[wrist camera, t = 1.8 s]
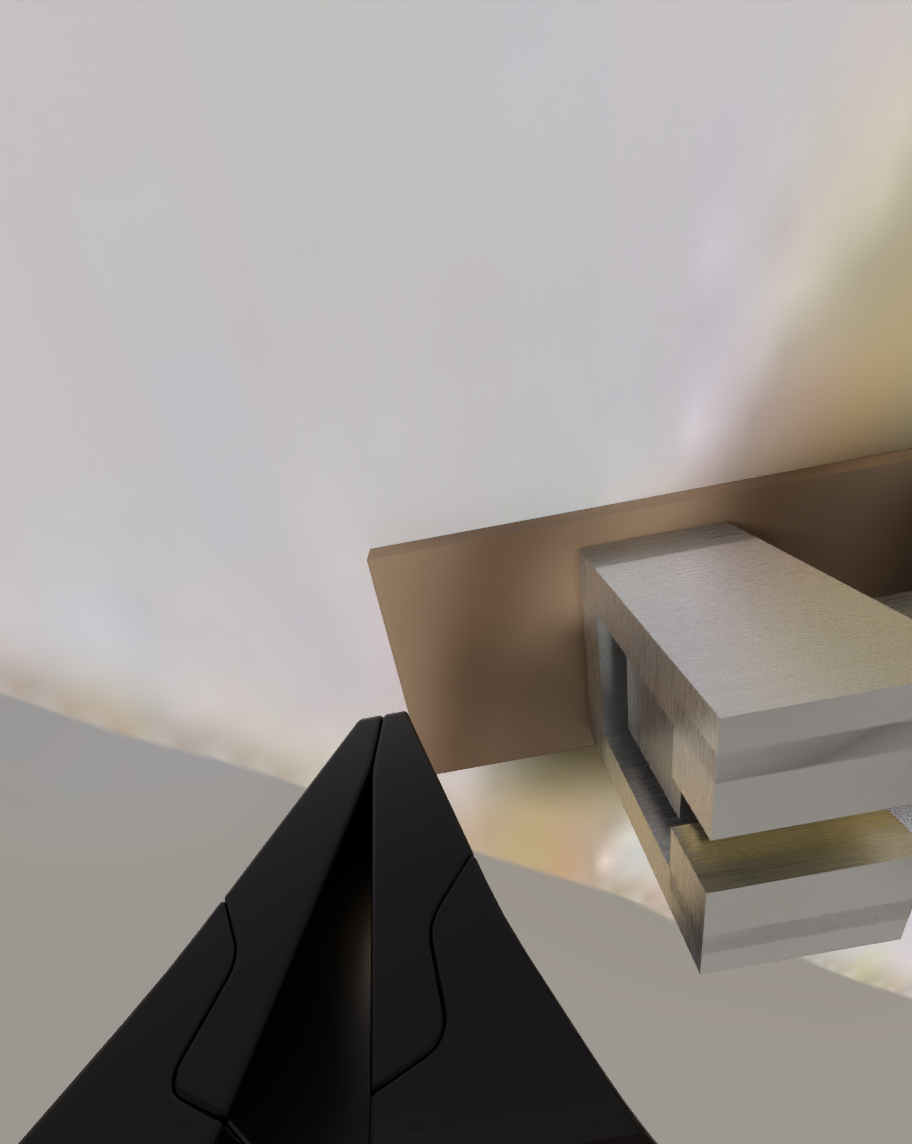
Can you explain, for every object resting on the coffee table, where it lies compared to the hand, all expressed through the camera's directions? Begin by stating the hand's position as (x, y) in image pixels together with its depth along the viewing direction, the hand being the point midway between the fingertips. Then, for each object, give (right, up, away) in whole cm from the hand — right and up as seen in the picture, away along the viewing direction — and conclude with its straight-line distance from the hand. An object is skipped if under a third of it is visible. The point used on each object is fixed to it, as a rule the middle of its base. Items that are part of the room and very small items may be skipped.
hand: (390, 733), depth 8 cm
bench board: (+9, +2, +7) cm, 11 cm away
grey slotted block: (+7, +1, +7) cm, 10 cm away
